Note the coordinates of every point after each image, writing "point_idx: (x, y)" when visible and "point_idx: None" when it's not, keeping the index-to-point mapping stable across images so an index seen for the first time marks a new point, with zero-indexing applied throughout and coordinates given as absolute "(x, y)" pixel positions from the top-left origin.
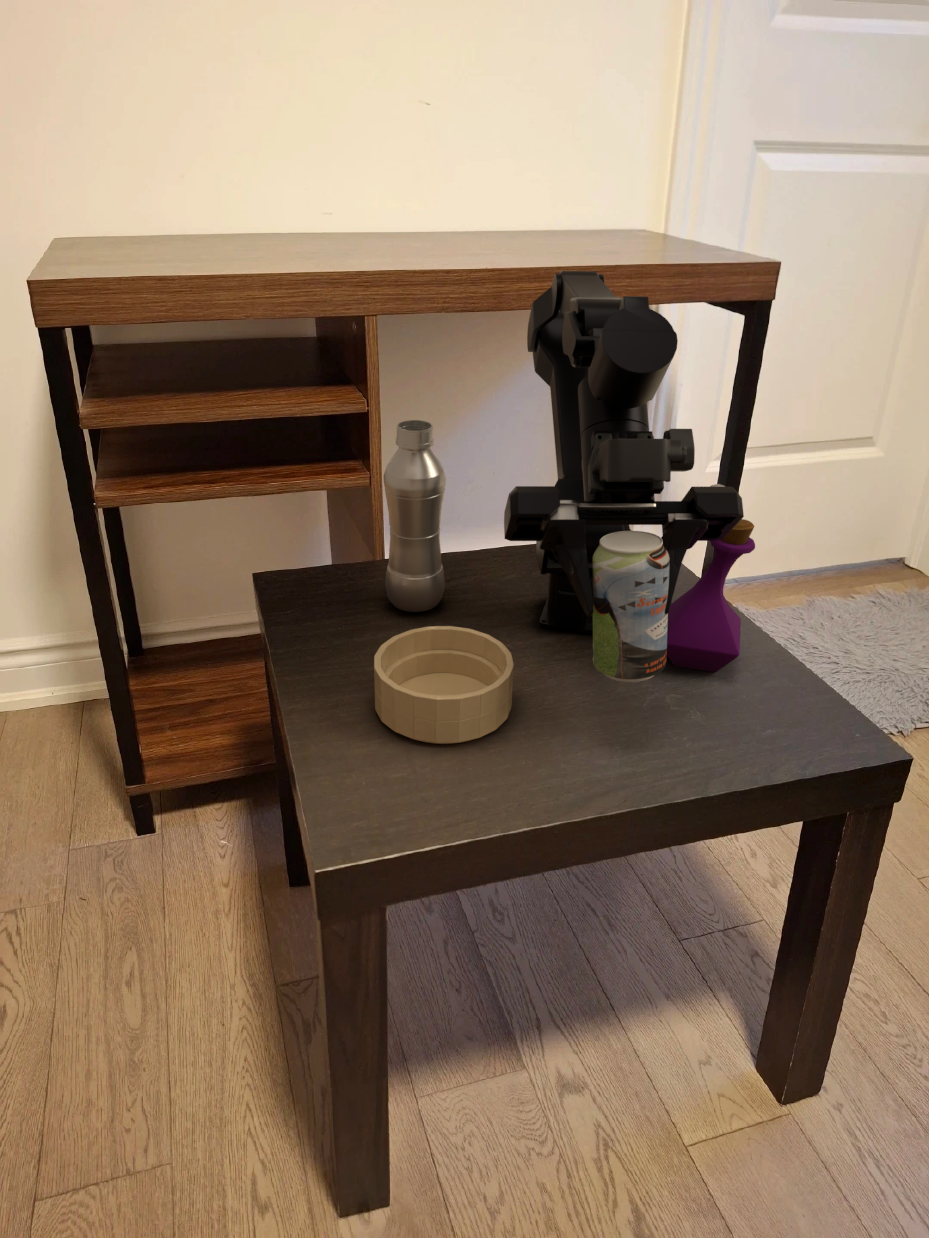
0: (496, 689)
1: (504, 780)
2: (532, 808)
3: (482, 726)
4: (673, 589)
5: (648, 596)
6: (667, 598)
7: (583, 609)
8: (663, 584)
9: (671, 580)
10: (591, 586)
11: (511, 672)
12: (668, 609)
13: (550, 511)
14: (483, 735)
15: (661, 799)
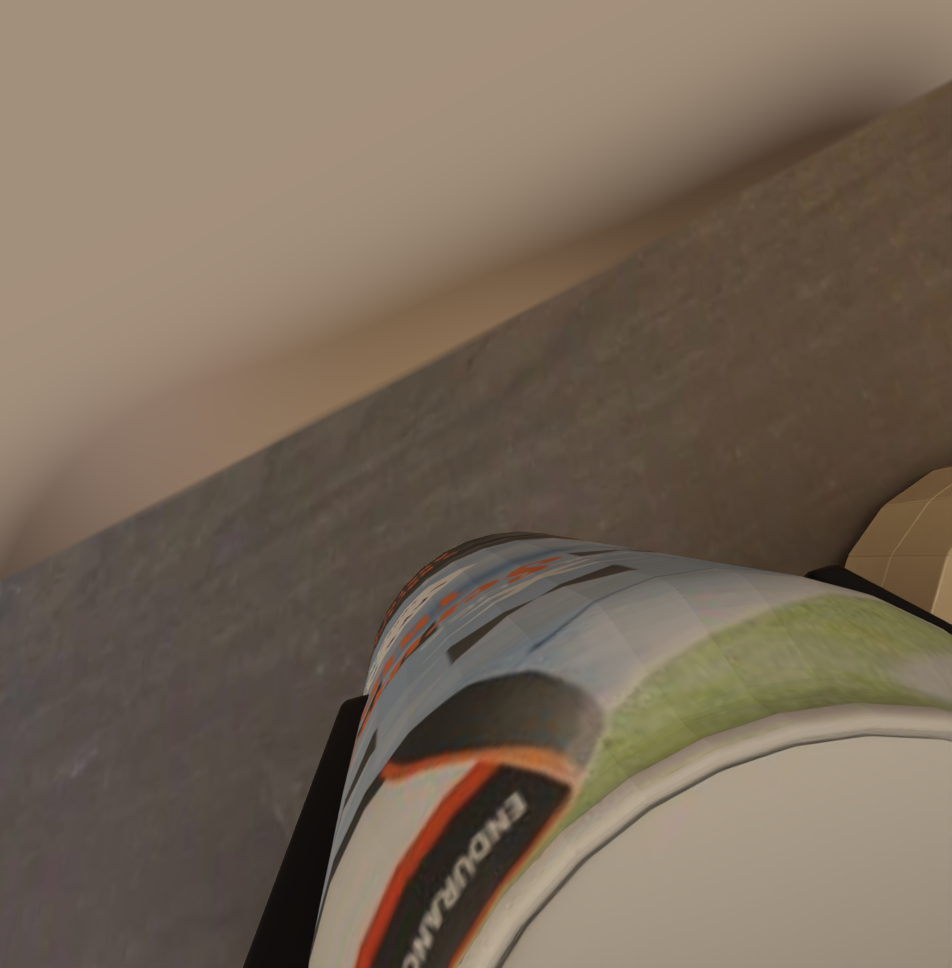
0: (944, 550)
1: (771, 370)
2: (684, 284)
3: (897, 511)
4: (298, 836)
5: (488, 595)
6: (347, 764)
7: None
8: (373, 729)
9: (307, 906)
10: None
11: None
12: (344, 711)
13: None
14: (874, 518)
15: (381, 388)
